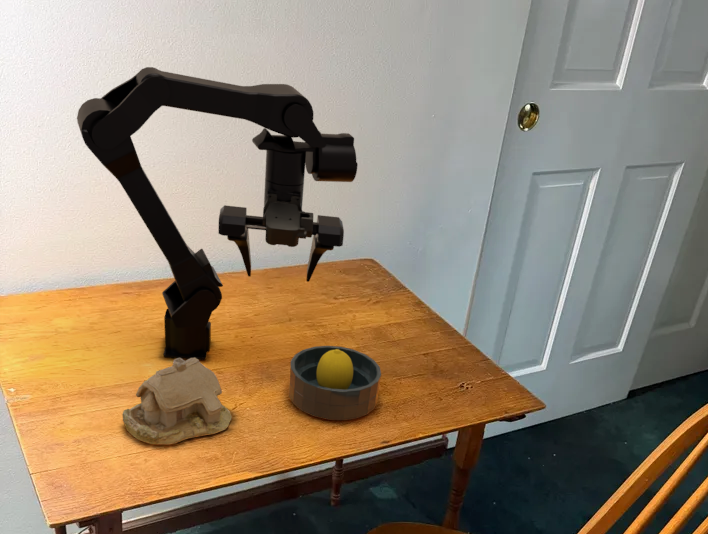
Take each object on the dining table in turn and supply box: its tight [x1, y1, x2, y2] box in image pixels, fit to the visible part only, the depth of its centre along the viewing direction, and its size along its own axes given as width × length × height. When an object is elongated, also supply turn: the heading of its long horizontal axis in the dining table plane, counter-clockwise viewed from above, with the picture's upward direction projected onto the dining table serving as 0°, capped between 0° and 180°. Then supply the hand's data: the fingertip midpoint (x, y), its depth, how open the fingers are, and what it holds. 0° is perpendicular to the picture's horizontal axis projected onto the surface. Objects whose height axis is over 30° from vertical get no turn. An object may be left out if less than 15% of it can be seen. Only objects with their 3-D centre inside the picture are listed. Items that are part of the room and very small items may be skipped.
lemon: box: [317, 349, 353, 390], centre depth 119 cm, size 6×6×8 cm
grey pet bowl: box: [288, 345, 382, 421], centre depth 120 cm, size 14×14×6 cm
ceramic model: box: [121, 357, 232, 445], centre depth 107 cm, size 14×11×10 cm
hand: (278, 278), depth 126 cm, fingers open, 9 cm apart
